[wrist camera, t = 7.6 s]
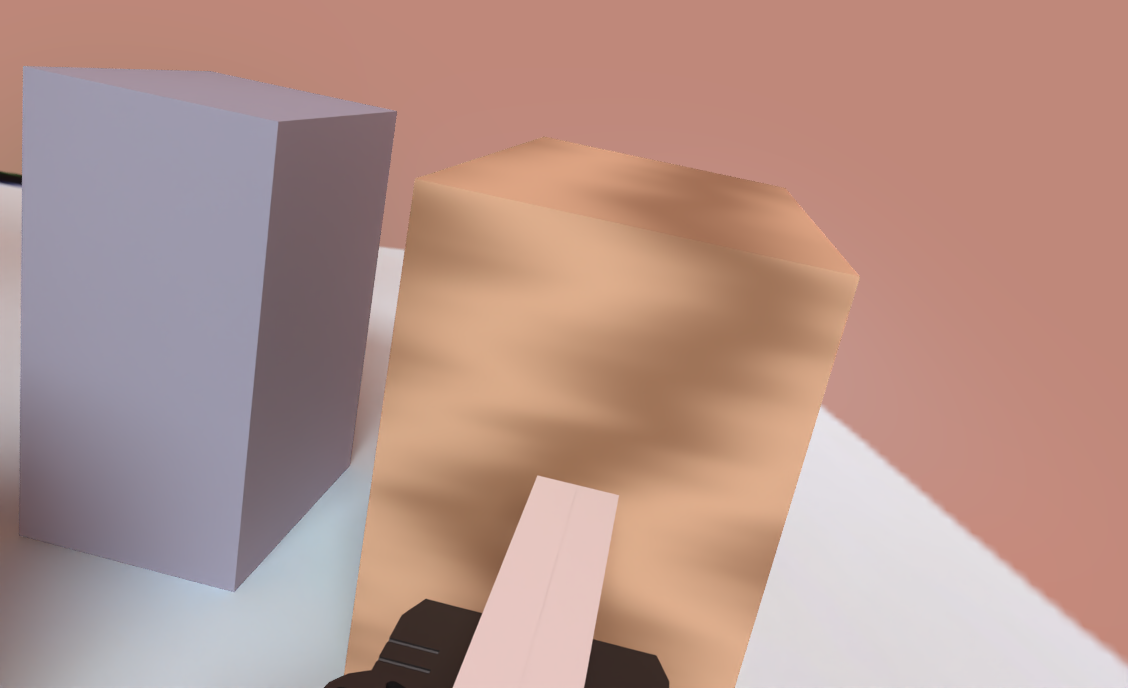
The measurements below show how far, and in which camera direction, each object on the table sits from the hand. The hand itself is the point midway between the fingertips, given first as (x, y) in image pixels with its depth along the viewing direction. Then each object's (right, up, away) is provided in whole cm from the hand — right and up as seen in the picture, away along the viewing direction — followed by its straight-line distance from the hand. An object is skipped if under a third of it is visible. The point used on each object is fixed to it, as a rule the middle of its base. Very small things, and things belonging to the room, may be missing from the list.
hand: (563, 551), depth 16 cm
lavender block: (-11, -1, +11) cm, 15 cm away
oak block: (0, -3, +10) cm, 10 cm away
